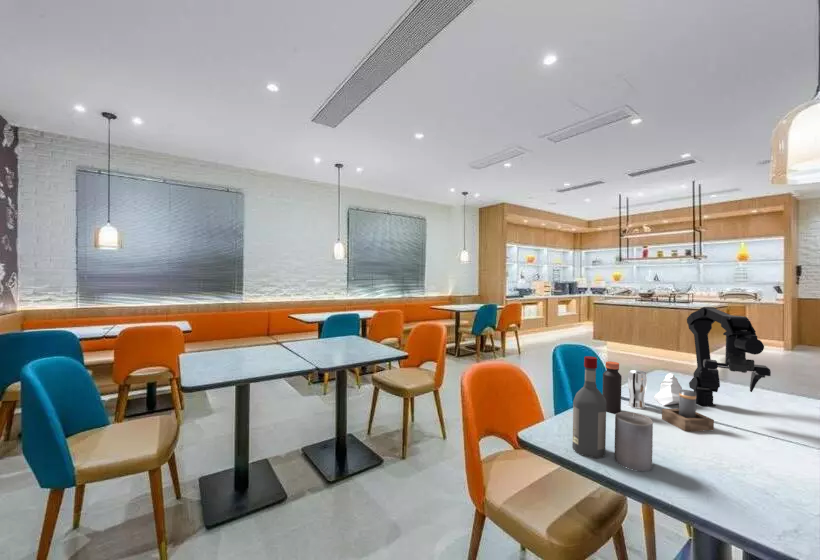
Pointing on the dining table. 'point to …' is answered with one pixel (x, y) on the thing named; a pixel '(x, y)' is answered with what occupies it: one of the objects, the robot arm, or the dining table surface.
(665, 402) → the soft serve ice cream
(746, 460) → the dining table surface
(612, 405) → the bottle
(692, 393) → the charcoal peg
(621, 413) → the pillar candle
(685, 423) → the walnut socket block
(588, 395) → the liquor
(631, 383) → the beer glass
